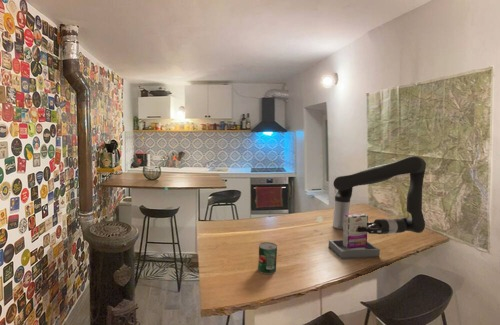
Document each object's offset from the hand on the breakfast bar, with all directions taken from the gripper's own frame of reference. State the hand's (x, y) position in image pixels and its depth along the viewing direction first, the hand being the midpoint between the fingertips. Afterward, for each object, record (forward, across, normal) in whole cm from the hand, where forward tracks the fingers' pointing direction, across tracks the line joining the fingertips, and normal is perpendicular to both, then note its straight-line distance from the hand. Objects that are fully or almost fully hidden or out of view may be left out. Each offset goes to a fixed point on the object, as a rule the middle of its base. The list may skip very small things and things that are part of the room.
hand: (355, 227), depth 150 cm
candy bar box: (0, 0, +10) cm, 10 cm away
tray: (0, 0, +13) cm, 13 cm away
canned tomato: (+48, +13, +13) cm, 51 cm away
